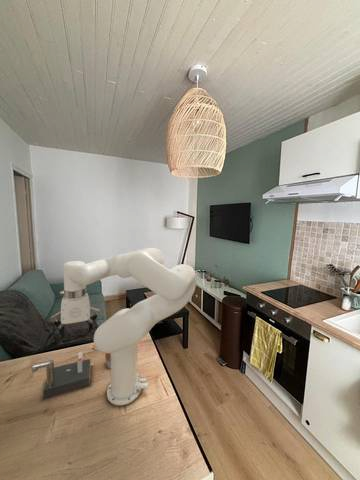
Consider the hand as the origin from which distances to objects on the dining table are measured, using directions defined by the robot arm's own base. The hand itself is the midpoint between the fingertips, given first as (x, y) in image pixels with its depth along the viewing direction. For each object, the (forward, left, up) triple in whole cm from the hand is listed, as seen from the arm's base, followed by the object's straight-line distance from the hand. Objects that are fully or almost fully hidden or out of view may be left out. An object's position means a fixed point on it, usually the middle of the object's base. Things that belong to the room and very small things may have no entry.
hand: (76, 333), depth 78 cm
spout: (+9, +8, -15) cm, 19 cm away
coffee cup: (-12, -7, -19) cm, 24 cm away
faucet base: (+3, +2, -19) cm, 19 cm away
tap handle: (-1, -1, -15) cm, 15 cm away
